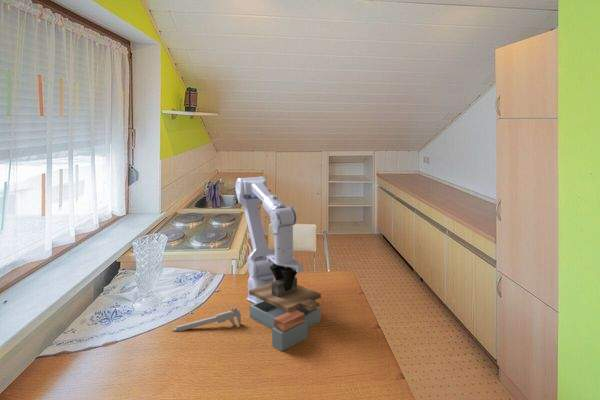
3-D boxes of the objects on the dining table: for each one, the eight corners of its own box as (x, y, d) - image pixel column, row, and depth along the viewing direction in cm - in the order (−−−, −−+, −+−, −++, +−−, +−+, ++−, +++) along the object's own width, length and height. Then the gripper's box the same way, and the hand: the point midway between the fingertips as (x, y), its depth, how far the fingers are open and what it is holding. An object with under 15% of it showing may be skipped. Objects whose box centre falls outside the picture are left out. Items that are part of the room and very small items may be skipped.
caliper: (240, 324, 124) (240, 305, 123) (241, 326, 123) (240, 307, 122) (172, 330, 120) (171, 311, 119) (172, 332, 119) (170, 313, 118)
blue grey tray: (234, 323, 124) (233, 308, 123) (282, 303, 137) (282, 289, 136) (281, 351, 108) (281, 333, 107) (330, 325, 122) (330, 309, 121)
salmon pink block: (274, 326, 111) (273, 318, 110) (294, 316, 116) (294, 309, 116) (283, 331, 108) (283, 323, 107) (304, 321, 113) (304, 313, 113)
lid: (249, 296, 126) (248, 278, 125) (281, 284, 136) (281, 267, 135) (297, 319, 111) (297, 299, 110) (330, 303, 121) (330, 285, 120)
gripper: (309, 248, 120) (310, 291, 122) (277, 239, 130) (278, 278, 132) (292, 253, 115) (293, 298, 117) (261, 243, 125) (262, 284, 127)
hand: (284, 288), depth 124 cm, fingers closed on lid, 3 cm apart
